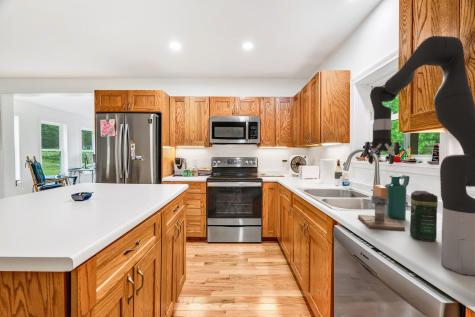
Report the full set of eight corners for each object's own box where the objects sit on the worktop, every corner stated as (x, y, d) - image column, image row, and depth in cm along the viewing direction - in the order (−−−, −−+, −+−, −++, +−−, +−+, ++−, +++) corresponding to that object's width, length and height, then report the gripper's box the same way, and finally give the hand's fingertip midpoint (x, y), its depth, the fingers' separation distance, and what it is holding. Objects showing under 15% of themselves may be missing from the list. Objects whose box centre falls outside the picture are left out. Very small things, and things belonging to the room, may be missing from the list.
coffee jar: (439, 243, 91) (441, 193, 91) (414, 240, 94) (415, 192, 94) (430, 235, 100) (431, 190, 100) (407, 232, 103) (408, 188, 103)
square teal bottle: (388, 218, 125) (389, 175, 125) (382, 214, 133) (383, 174, 133) (410, 220, 123) (411, 176, 122) (403, 215, 131) (404, 174, 130)
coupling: (392, 205, 111) (392, 188, 110) (375, 204, 112) (375, 187, 112) (383, 201, 120) (384, 185, 120) (368, 200, 121) (368, 184, 121)
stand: (404, 230, 106) (405, 208, 106) (369, 228, 109) (370, 207, 108) (387, 219, 123) (388, 200, 123) (358, 217, 126) (358, 199, 126)
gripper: (368, 128, 112) (367, 164, 113) (402, 128, 109) (401, 164, 110) (363, 130, 120) (362, 163, 120) (395, 129, 117) (394, 163, 117)
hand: (381, 163), depth 115 cm, fingers open, 8 cm apart
